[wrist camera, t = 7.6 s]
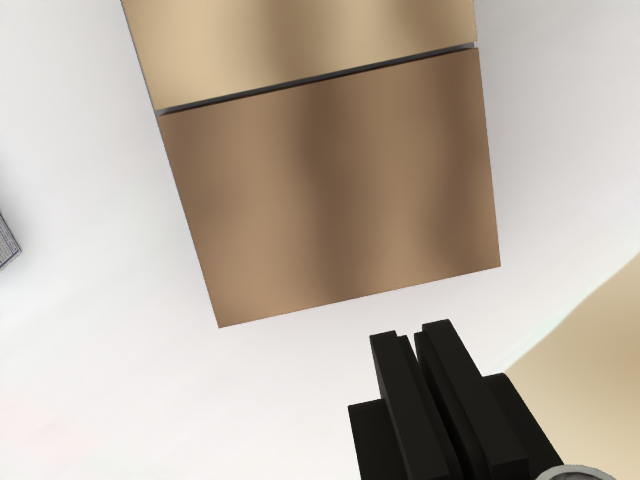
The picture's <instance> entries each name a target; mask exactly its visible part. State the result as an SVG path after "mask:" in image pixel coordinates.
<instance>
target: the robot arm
mask: <svg viewBox="0 0 640 480" xmlns="http://www.w3.org/2000/svg"><path fill="white" fill-rule="evenodd" d="M369 338H370V344H371V349H372V354H373V359H374V364H375V369H376V374H377V379H378V385H379V390H380V395H381V399H377V400H373V401H368V402H363V403H359V404H354V405H349V406H348V412H349V417H350V422H351V428H352V433H353V438H354V444H355V449H356V454H357V459H358V465H359V470H360V475H361V480H616V479H615V478H613V477H612V476H611V475H609V474H607V473H605V472H602V471H600V470H598V469H596V468H592V467H587V466H584V465H564V463H563V461H562V460H561V458H560V457H559V455H558V454H557V452H556V451H555V449H554V448H553V446H552V444H551V443H550V441H549V440H548V438H547V437H546V435H545V434H544V432H543V431H542V429H541V427H540V426H539V424H538V423H537V421H536V420H535V418H534V417H533V415H532V413H531V412H530V411H529V409H528V407H527V406H526V404H525V403H524V401H523V400H522V398H521V396H520V395H519V393H518V392H517V390H516V389H515V387H514V386H513V384H512V383H511V381H510V379H509V378H508V377H507V376H506V374H504V373H499V374H494V375H489V376H485V377H482V376H481V374H480V372H479V370H478V369H477V367H476V365H475V363H474V362H473V360H472V358H471V357H470V355H469V353H468V351H467V350H466V348H465V346H464V344H463V343H462V341H461V339H460V337H459V336H458V334H457V332H456V330H455V329H454V327H453V325H452V324H451V322H450V320H449V319H445V320H440V321H435V322H431V323H426V324H422V332H417V333H414V341H415V347H416V354H417V359H416V356H415V354H414V352H413V349H412V347H411V344H410V342H409V340H408V337H407V335H403V336H399V337H397V334H396V332H395V330H393V331H389V332H384V333H379V334H375V335H370V336H369ZM417 360H418V361H417Z"/></svg>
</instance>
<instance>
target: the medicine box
mask: <svg viewBox="0 0 640 480" xmlns="http://www.w3.org/2000/svg"><path fill="white" fill-rule="evenodd" d="M20 253H21V251H20V249H19V247H18V246H17V244H16V242H15V240H14V239H13V237H12V235H11V234H10V232H9V230H8V228H7V227H6V225H5V223H4V221H3V220H2V218H1V216H0V272H1V271H2V270H3V269H4V268H5V267H6V266H7V265H8V264H9V263H11V262H12V261H13V260H14V259H15V258H16V257H18V256H19V255H20Z"/></svg>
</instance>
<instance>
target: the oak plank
mask: <svg viewBox="0 0 640 480" xmlns="http://www.w3.org/2000/svg"><path fill="white" fill-rule="evenodd" d="M122 3H123V6H124V9H125V13H126V16H127V19H128V23H129V26H130V29H131V33H132V36H133V39H134V42H135V46H136V49H137V52H138V56H139V59H140V62H141V66H142V69H143V72H144V76H145V79H146V82H147V86H148V89H149V92H150V96H151V99H152V102H153V106H154V109H155V110H159V109H164V108H168V107H173V106H177V105H182V104H187V103H191V102H196V101H201V100H205V99H210V98H215V97H219V96H224V95H228V94H233V93H238V92H242V91H247V90H252V89H256V88H261V87H266V86H270V85H275V84H279V83H284V82H289V81H293V80H298V79H303V78H307V77H312V76H317V75H321V74H326V73H331V72H335V71H340V70H344V69H349V68H354V67H358V66H363V65H368V64H372V63H377V62H382V61H386V60H391V59H395V58H400V57H405V56H409V55H414V54H419V53H423V52H428V51H433V50H437V49H442V48H446V47H451V46H456V45H460V44H465V43H470V42H474V41H477V36H476V25H475V14H474V4H473V0H122Z"/></svg>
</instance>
